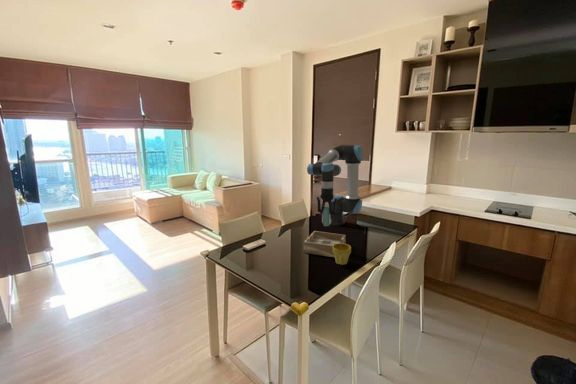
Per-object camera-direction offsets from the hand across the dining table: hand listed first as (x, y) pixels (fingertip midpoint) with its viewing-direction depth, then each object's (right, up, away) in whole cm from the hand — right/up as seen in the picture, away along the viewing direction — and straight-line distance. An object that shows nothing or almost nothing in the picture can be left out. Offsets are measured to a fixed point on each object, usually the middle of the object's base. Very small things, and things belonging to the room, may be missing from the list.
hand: (326, 222), depth 179 cm
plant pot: (+6, -21, -19) cm, 29 cm away
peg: (0, -2, 0) cm, 2 cm away
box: (-1, -17, +1) cm, 17 cm away
